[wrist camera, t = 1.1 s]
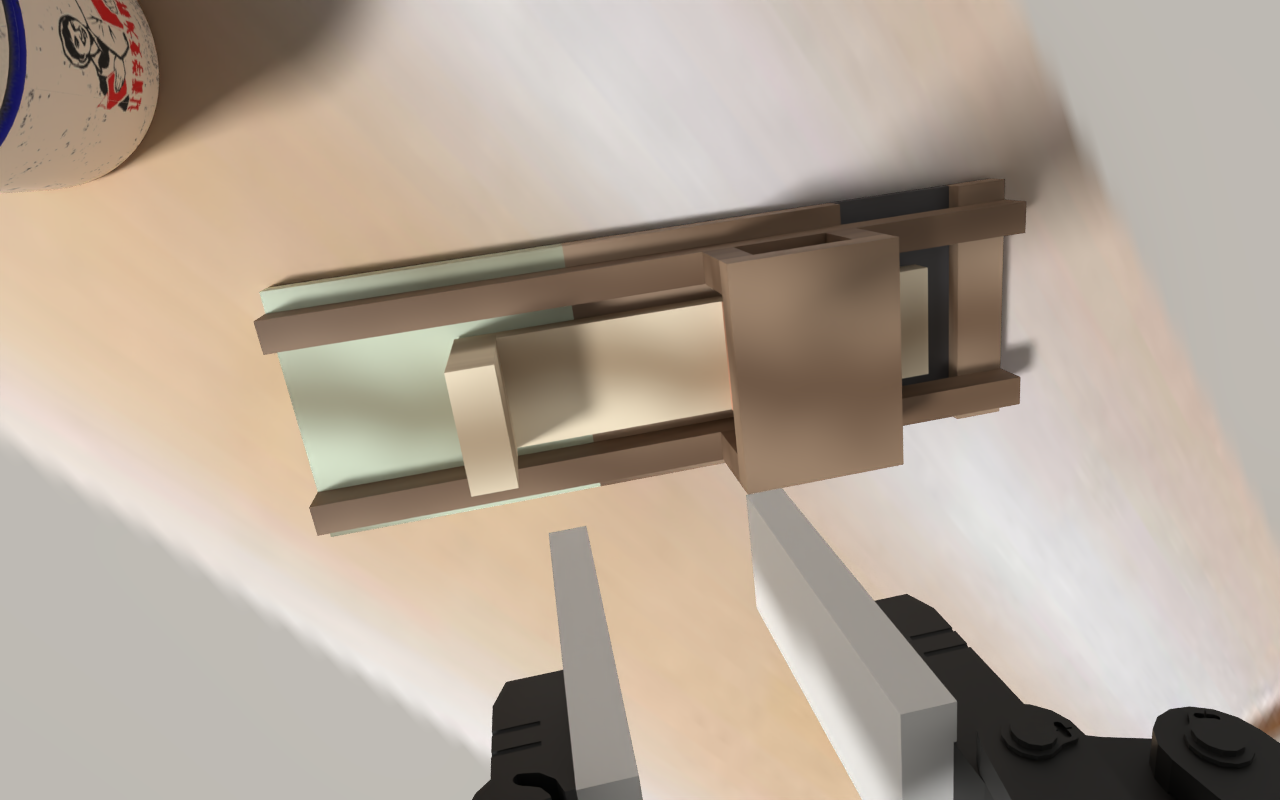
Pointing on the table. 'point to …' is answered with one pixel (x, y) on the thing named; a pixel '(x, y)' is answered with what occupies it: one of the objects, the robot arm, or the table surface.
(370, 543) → the table surface
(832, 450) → the tunnel board
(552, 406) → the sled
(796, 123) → the table surface
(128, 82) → the teacup with lid
